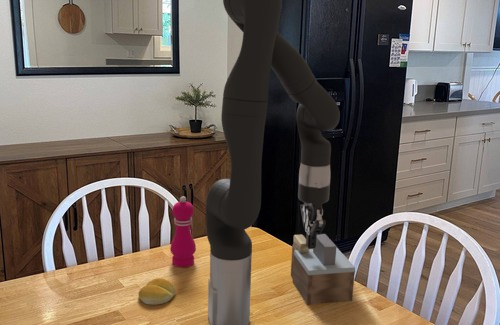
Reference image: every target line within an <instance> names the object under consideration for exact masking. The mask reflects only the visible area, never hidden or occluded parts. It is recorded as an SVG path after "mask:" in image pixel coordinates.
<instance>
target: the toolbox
mask: <svg viewBox="0 0 500 325" xmlns="http://www.w3.org/2000/svg"><path fill="white" fill-rule="evenodd" d="M291 246H292V247H291V260H290V261H291V262H290V264H291V265H290V277H291V279H292V283H293V285H294V286H295V288H296V290H297V292H298V293H299V295H300V297H301V298H302V299H303V301H304V303H305V305H306V306H308V305H318V304H319V305H320V304H331V303H344V302H352V301H353V296H354V295H353V293H354V285H355V284H354V283H355V273H356V272H345V273H331V274H318V275H308V274H307V272H306V271H305V269H304V268H303V266H302V265H301V264H300V262H299V261H298V259H297V258H296V256H295V255H294V250H298V249H297V248H296V246H295V245H294V244H292V245H291Z"/></svg>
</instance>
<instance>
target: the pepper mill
mask: <svg viewBox="0 0 500 325" xmlns="http://www.w3.org/2000/svg"><path fill="white" fill-rule="evenodd" d="M171 210H172V215H173V217H174V218H173V221H174V225H175V234H174V237H173V239H172V240H171V243H170V253H171V255H172V258H171V261H172V262H171V263H172V265H173V266H175V267H178V268H188V267H191V266H192V265H194V263H195V255H194V254H196V250H197V246H196V242H195V240H194V238H193V235H192V231H191V225H192V224H193V218H192V216H193V215H194V214H195V209H194V206H193V204H192V203H191V202H189V201H187V198H186V196H184V195H183V196H181V197H180V198H179V201H177V202H176V203H174V204H173V206H172V209H171Z"/></svg>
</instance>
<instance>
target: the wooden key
mask: <svg viewBox="0 0 500 325" xmlns="http://www.w3.org/2000/svg"><path fill="white" fill-rule="evenodd" d="M292 245H295V246H296V248H297V249H298V251H299V252H300V253H306V252H309V249H310V248H308V247H307V246H306V236H305V235H303V234H294V235H293V244H292Z"/></svg>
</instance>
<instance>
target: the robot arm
mask: <svg viewBox="0 0 500 325" xmlns="http://www.w3.org/2000/svg"><path fill="white" fill-rule="evenodd" d="M222 4H223V7H224V10H225V12H226V14H227V15H228V17H229V18H230V20H231V21H232V22H233V23H234V24H235V25H236V26H237V28H239V30H241V31H242V33H243V34H242V41H241V47H240V51H239V54H238V56H237V59H236V61H235V63H234V64H233V67H232V68H231V70H230V73H229V75H228V77H227V78H226V82H225V85H224V87H223V92H222V93H223V94H222V95H223V97H222V105H221V119H220V120H221V126H222V127H221V128H222V131H223V135H224V139H225V142H226V146H227V149H228V153H229V158H230V159H229V160H230V176H229V178H221V179H219V180H217V181H216V182H215V183H213V184H212V186H211V187H209V191H208V193H207V195H206V201H205V221H206V222H205V223H206V236H207V240H208V244H209V248H210V250H209V252H210V253H209V279H208V288H207V289H208V291H207V292H208V293H207V296H208V297H207V301H208V302H207V304H208V305H207V317H208V322H209V325H249V324H250V319H251V318H250V316H251V288H252V287H251V283H252V280H251V279H252V262H253V261H252V258H253V257H252V254H253V242H252V239H251V237H250V235H249V234H248V233H247V231H246V230H247V229H248V228H250V227H251V226H253V225H254V224H255V222H256V220H257V219H258V216H259V214H260V211H261V207H262V162H263V161H262V160H263V159H262V158H263V148H264V146H263V145H264V135H265V128H266V127H265V125H266V118H267V111H268V98H269V87H270V78H271V71H273V72H274V73H275V76H276V77H277V79H278V80H279V82H280V83H281V85H282V86H283V89H284V90H285V91H286V93H287V94H288V96H289V98H290V99H291V100H292V101H293V102H295V103H297V104H298V107H297V109H296V115H295V116H296V117H295V118H296V126H297V130H298V131H297V132H298V135H299V137H298V138H299V140H300V145H301V151H300V153H301V154H300V166H299V171H298V172H299V173H298V190H297V191H298V192H297V197H298V200H299V201H301V202H302V203H303V204H300V205H299V206H300V207H299V208H300V214H301V220H302V226H303V228H304V231H305V232H306V233H305V234H306V235H305V238H306V246H307V247H308V248H309V249H313V248H315V247H316V237H317V235H321V234H323V231H324V228H325V227H326V224H327V221H326V219H323V217H322V216H323V215H324V209H323V204H325V203H328V201H329V200H330V189H331V188H330V187H331V186H330V185H331V155H332V154H331V153H332V145H331V142H330V141H329V140H328V139H326V138H325V137H324V136H323V135H322V132H330V131H331V130H334V129H335V128H336V127H337V126H338V124H339V122H340V118H341V112H340V109H339V105H338V104H337V102H336V101H335V99H334V98H333V97H332V96H331V95H330V94H329V92H328V91H327V90H326V89H325V88H324V87H323V85H321V84H320V83H319V82H318V80H317V79H316V77H315V75H314V74H313V72H312V70H311V68H310V66H309V64H308V63H307V61H306V59H304V57H303V56H302V54H300V52H299V51H297V49H296V48H295V47H294V46H292V44H290V43H289V42H288V40H286V39H285V38H284V37H283V36H282V35H281V34H280V32H279V31H278V28H279V24H280V18H281V13H282V6H283V0H222ZM271 69H272V70H271ZM321 131H322V132H321Z"/></svg>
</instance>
